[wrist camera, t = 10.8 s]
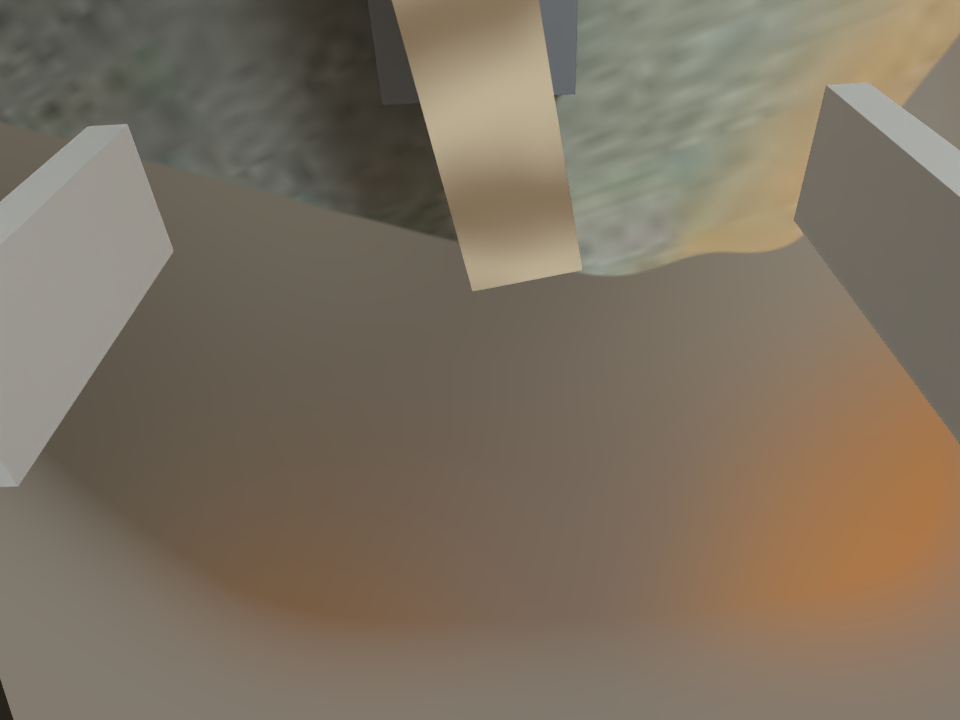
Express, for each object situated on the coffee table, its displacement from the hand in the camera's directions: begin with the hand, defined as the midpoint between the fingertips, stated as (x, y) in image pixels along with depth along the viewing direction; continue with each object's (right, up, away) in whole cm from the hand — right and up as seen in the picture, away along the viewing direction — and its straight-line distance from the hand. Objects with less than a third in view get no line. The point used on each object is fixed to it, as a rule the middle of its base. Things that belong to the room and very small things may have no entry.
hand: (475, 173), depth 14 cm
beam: (0, +11, +15) cm, 19 cm away
